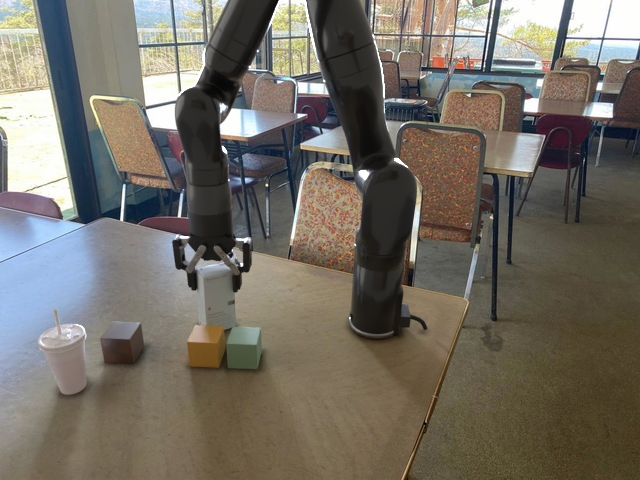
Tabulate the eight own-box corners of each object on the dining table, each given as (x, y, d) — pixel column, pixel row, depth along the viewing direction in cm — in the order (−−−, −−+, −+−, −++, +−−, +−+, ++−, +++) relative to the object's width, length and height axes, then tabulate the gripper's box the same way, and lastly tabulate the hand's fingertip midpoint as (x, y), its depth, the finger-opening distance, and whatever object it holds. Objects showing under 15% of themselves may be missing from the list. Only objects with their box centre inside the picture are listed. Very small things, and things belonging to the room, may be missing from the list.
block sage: (261, 351, 85) (261, 327, 83) (257, 369, 81) (256, 344, 79) (233, 350, 85) (232, 326, 83) (227, 368, 81) (226, 343, 79)
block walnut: (144, 346, 86) (141, 322, 84) (133, 364, 81) (129, 339, 79) (116, 345, 86) (112, 321, 84) (104, 362, 81) (99, 338, 79)
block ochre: (225, 349, 85) (223, 326, 83) (218, 367, 81) (217, 343, 79) (197, 348, 85) (195, 324, 83) (189, 366, 81) (186, 341, 79)
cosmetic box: (207, 336, 89) (202, 278, 84) (198, 324, 92) (193, 268, 88) (237, 326, 92) (234, 270, 87) (228, 315, 96) (225, 260, 91)
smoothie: (83, 368, 80) (68, 294, 74) (103, 385, 76) (88, 309, 70) (43, 387, 75) (23, 311, 70) (62, 407, 71) (43, 328, 66)
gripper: (161, 211, 79) (170, 298, 86) (247, 214, 79) (250, 301, 86) (175, 197, 86) (183, 278, 93) (254, 200, 86) (257, 281, 92)
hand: (215, 289), depth 89 cm, fingers closed on cosmetic box, 7 cm apart
